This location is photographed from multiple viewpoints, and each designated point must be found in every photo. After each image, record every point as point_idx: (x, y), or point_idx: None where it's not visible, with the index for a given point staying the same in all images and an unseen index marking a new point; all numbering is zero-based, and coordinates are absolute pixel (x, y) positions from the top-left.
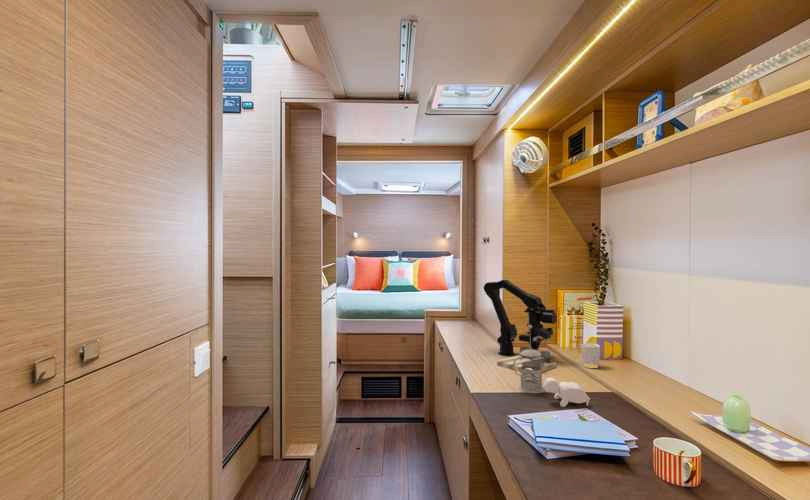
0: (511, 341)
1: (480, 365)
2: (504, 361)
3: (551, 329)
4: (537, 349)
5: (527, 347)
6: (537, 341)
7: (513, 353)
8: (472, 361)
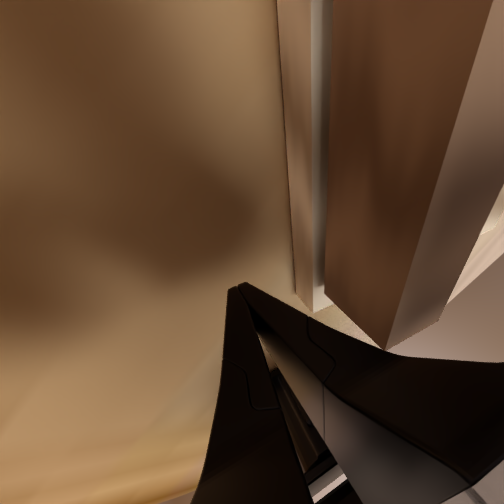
0: (316, 472)
1: (490, 239)
2: (497, 198)
3: None
4: (449, 145)
5: (404, 310)
6: (498, 390)
7: (274, 377)
8: (453, 295)
